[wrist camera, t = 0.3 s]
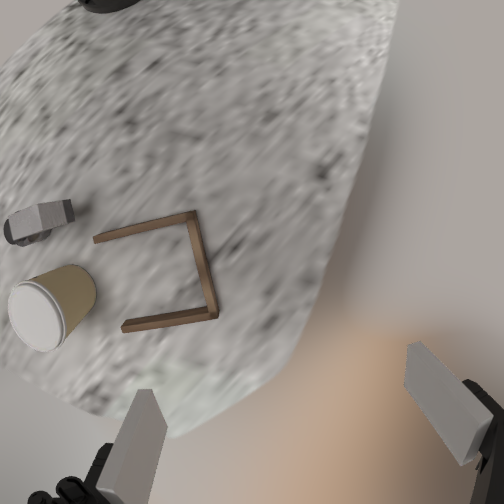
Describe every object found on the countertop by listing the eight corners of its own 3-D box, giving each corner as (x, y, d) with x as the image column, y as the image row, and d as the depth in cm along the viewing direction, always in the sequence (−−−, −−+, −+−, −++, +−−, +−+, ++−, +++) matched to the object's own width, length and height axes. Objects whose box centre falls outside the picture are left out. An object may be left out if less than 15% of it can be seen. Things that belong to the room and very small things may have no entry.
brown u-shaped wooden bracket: (100, 233, 39) (92, 236, 37) (195, 210, 39) (192, 211, 37) (128, 325, 42) (122, 333, 40) (219, 310, 42) (218, 318, 40)
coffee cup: (58, 248, 40) (9, 269, 28) (108, 275, 41) (67, 306, 29) (47, 300, 41) (4, 331, 30) (94, 327, 42) (57, 367, 31)
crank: (14, 244, 34) (-18, 255, 27) (9, 219, 33) (-24, 227, 26) (75, 224, 34) (43, 233, 27) (69, 196, 33) (36, 200, 26)
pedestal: (25, 212, 38) (6, 216, 33) (48, 203, 38) (28, 206, 33) (33, 243, 39) (14, 249, 34) (55, 235, 39) (36, 242, 34)
